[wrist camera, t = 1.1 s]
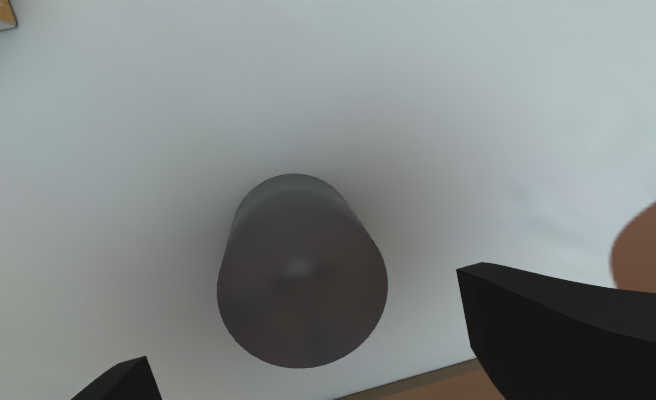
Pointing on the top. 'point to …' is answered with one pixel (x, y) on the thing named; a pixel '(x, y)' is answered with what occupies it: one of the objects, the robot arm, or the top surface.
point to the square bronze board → (438, 386)
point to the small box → (6, 16)
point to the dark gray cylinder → (300, 275)
